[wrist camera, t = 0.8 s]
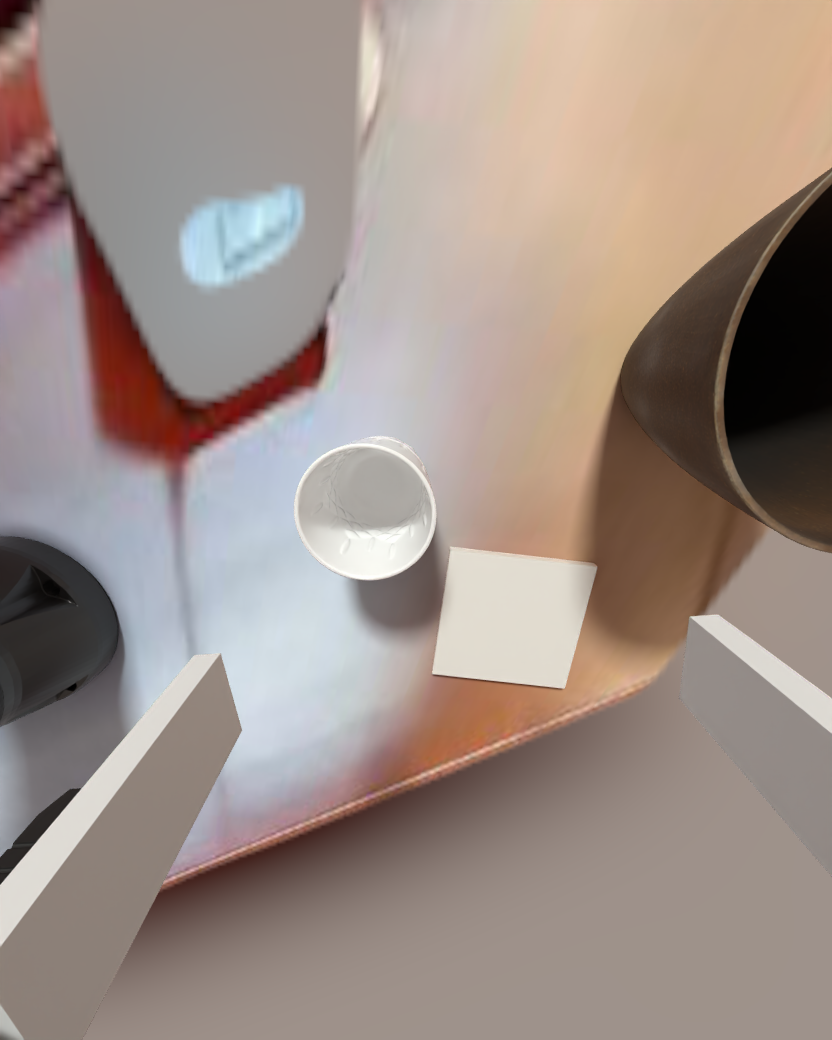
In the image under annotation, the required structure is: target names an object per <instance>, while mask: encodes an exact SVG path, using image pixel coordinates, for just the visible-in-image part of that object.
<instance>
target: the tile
mask: <svg viewBox="0 0 832 1040" xmlns="http://www.w3.org/2000/svg"><path fill="white" fill-rule="evenodd" d="M597 568H598V567H597V566H596V565H595V564H594V563H590V562H581V561H572V560H564V559H555V558H546V557H537V556H528V555H520V554H511V553H502V552H493V551H484V550H476V549H467V548H458V547H450V550H449V557H448V564H447V570H446V577H445V584H444V591H443V597H442V604H441V611H440V618H439V624H438V631H437V638H436V644H435V651H434V658H433V665H432V674H437V675H446V676H455V677H464V678H473V679H482V680H491V681H500V682H509V683H519V684H528V685H537V686H546V687H555V688H564V689H565V685H566V682H567V678H568V674H569V670H570V667H571V663H572V659H573V656H574V652H575V648H576V645H577V641H578V637H579V634H580V630H581V626H582V623H583V619H584V615H585V612H586V608H587V604H588V601H589V597H590V593H591V590H592V586H593V582H594V579H595V575H596V571H597Z"/></svg>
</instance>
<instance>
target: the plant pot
mask: <svg viewBox="0 0 832 1040" xmlns="http://www.w3.org/2000/svg"><path fill="white" fill-rule="evenodd" d="M621 388H622V393H623V397H624V399H625V401H626V404H627V406H628V408H629V409H630V411H631V413H632V414H633V416H634V418H635V419H636V421H637V422H638V423H639V425H640V426H641V427H642V429H643V430H644V431H645V432H646V433H647V435H648V436H649V437H650V438H651V439H652V440H653V441H654V442H655V443H656V444H657V445H658V446H659V447H660V448H661V449H662V451H663V452H665V453H666V454H667V455H668V456H669V457H670V458H671V459H672V460H673V461H675V462H676V463H677V464H678V465H679V466H680V467H682V468H683V469H684V470H685V471H687V472H688V473H689V474H690V475H692V476H693V477H694V478H696V479H697V480H698V481H699V482H701V483H702V484H704V485H705V486H706V487H708V488H709V489H711V490H712V491H713V492H715V493H716V494H718V495H719V496H721V497H722V498H724V499H725V500H727V501H728V502H730V503H731V504H733V505H734V506H736V507H738V508H739V509H741V510H742V511H744V512H745V513H747V514H748V515H750V516H752V517H753V518H755V519H757V520H758V521H760V522H762V523H763V524H765V525H767V526H768V527H770V528H772V529H773V530H775V531H777V532H778V533H780V534H782V535H783V536H785V537H786V538H788V539H791V540H793V541H795V542H797V543H799V544H802V545H804V546H806V547H810V548H813V549H816V550H820V551H824V552H828V553H832V168H831V169H829V170H828V171H827V172H825V173H824V174H823V175H821V176H820V177H818V178H817V179H816V180H814V181H813V182H811V183H810V184H809V185H807V186H806V187H804V188H803V189H802V190H800V191H799V192H798V193H796V194H795V195H793V196H792V197H791V198H789V199H788V200H786V201H785V202H784V203H782V204H781V205H780V206H778V207H777V208H776V209H774V210H773V211H772V212H770V213H769V214H768V215H766V216H765V217H763V218H762V219H761V220H759V221H758V222H757V223H756V224H754V225H753V226H752V227H750V228H749V229H748V230H746V231H745V232H744V233H743V234H741V235H740V236H739V237H738V238H736V239H735V240H734V241H733V242H731V243H730V244H729V245H728V246H727V247H725V248H724V249H723V250H722V251H720V252H719V253H718V254H717V255H716V256H715V257H713V258H712V259H711V260H710V261H709V262H707V263H706V264H705V265H704V266H703V267H702V268H701V269H700V270H699V271H697V272H696V273H695V274H694V275H693V276H692V277H691V278H690V279H689V280H688V281H687V282H686V283H685V284H684V285H683V286H682V287H681V288H679V289H678V290H677V291H676V292H675V293H674V294H673V295H672V296H671V297H670V298H669V299H668V300H667V302H666V303H665V304H664V305H663V306H662V307H661V308H660V309H659V310H658V311H657V312H656V314H655V315H654V316H653V317H652V318H651V319H650V321H649V322H648V323H647V324H646V326H645V327H644V328H643V330H642V331H641V332H640V334H639V335H638V337H637V338H636V339H635V341H634V342H633V344H632V346H631V347H630V349H629V351H628V353H627V355H626V357H625V360H624V363H623V367H622V372H621Z"/></svg>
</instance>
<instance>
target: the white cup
mask: <svg viewBox="0 0 832 1040" xmlns="http://www.w3.org/2000/svg"><path fill="white" fill-rule="evenodd" d="M294 518H295V523H296V527H297V531H298V533H299V536H300V538H301V540H302V542H303V544H304V545H305V547H306V548H307V550H308V551H309V552H310V554H311V555H312V556H313V557H314V558H315V559H316V560H317V561H318V562H319V563H321V564H322V565H323V566H325V567H326V568H328V569H329V570H331V571H333V572H335V573H337V574H339V575H341V576H344V577H347V578H351V579H356V580H380V579H385V578H389V577H392V576H395V575H397V574H399V573H401V572H403V571H405V570H406V569H408V568H409V567H411V566H412V565H413V564H414V563H416V562H417V561H418V560H419V559H420V557H421V556H422V555H423V554H424V552H425V551H426V549H427V548H428V546H429V544H430V542H431V540H432V537H433V534H434V531H435V526H436V504H435V499H434V495H433V492H432V488H431V484H430V480H429V477H428V474H427V471H426V469H425V467H424V464H423V463H422V461H421V459H420V458H419V457H418V455H417V454H416V452H415V451H414V449H413V448H412V447H410V446H409V445H407V444H405V443H404V442H402V441H401V440H399V439H397V438H395V437H385V436H373V437H367V438H363V439H359V440H356V441H353V442H351V443H348V444H346V445H343V446H341V447H338V448H336V449H333V450H331V451H329V452H327V453H325V454H324V455H322V456H321V457H320V458H318V459H317V460H316V461H315V462H314V463H313V464H312V465H311V466H310V467H309V468H308V469H307V471H306V472H305V474H304V475H303V477H302V479H301V480H300V483H299V485H298V488H297V491H296V495H295V500H294Z"/></svg>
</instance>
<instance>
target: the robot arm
mask: <svg viewBox="0 0 832 1040" xmlns="http://www.w3.org/2000/svg"><path fill="white" fill-rule="evenodd" d="M117 638H118V629H117V621H116V617H115V613H114V610H113V608H112V605H111V603H110V601H109V599H108V597H107V595H106V594H105V592H104V591H103V589H102V588H101V586H100V585H99V584H98V582H97V581H96V580H95V579H94V578H93V577H92V575H91V574H90V573H89V572H88V571H87V570H85V569H84V568H83V567H82V566H81V565H80V564H78V563H77V562H76V561H75V560H73V559H72V558H70V557H69V556H67V555H66V554H64V553H62V552H60V551H59V550H57V549H55V548H53V547H50V546H48V545H46V544H43V543H40V542H37V541H34V540H30V539H25V538H19V537H0V727H2V726H4V725H6V724H8V723H10V722H13V721H15V720H17V719H19V718H21V717H23V716H26V715H28V714H30V713H32V712H34V711H37V710H39V709H41V708H43V707H45V706H47V705H49V704H52V703H53V702H55V701H58V700H61V699H63V698H65V697H67V696H69V695H71V694H73V693H75V692H76V691H78V690H79V689H81V688H82V687H84V686H85V685H86V684H87V683H88V682H89V681H91V680H92V679H93V678H94V677H95V676H96V675H98V674H99V673H100V672H101V671H102V670H103V669H104V668H105V667H106V666H107V665H108V663H109V662H110V660H111V659H112V657H113V655H114V652H115V649H116V645H117ZM679 699H680V700H681V701H682V702H683V704H684V705H685V706H686V707H687V708H688V709H689V711H690V712H691V713H692V714H693V715H694V716H695V717H696V719H697V720H698V721H699V722H700V723H701V725H702V726H703V727H704V728H705V729H706V730H707V732H708V733H709V734H710V735H711V736H712V738H713V739H714V740H715V741H716V742H717V743H718V745H719V746H720V747H721V748H722V749H723V750H724V752H725V753H726V754H727V755H728V756H729V757H730V759H731V760H732V761H733V762H734V763H735V764H736V765H737V767H738V768H739V769H740V770H741V771H742V773H743V774H744V775H745V776H746V777H747V778H748V780H750V782H751V783H752V784H753V785H754V787H755V788H756V789H757V790H758V791H759V792H760V794H761V795H762V796H763V797H764V798H765V799H766V801H767V802H768V803H769V804H770V805H771V806H772V808H773V809H774V810H775V811H776V812H777V813H778V815H779V816H780V817H781V818H782V819H783V821H784V822H785V823H786V824H787V825H788V826H789V828H790V829H791V830H792V831H793V832H794V833H795V835H796V836H797V837H798V838H799V839H800V840H801V842H802V843H803V844H804V845H805V846H806V847H807V849H808V850H809V851H810V852H811V853H812V854H813V855H814V857H815V858H816V859H817V860H818V861H819V863H820V864H821V865H822V866H823V867H824V868H825V870H826V871H827V872H828V873H829V874H830V875H831V877H832V698H831V697H829V696H828V695H826V694H825V693H824V692H822V691H821V690H819V689H818V688H817V687H816V686H814V685H813V684H811V683H810V682H809V681H807V680H806V679H805V678H804V677H802V676H801V675H799V674H798V673H797V672H795V671H794V670H792V669H791V668H790V667H789V666H787V665H786V664H785V663H783V662H782V661H780V660H779V659H778V658H776V657H775V656H774V655H772V654H771V653H770V652H768V651H767V650H766V649H764V648H763V647H762V646H760V645H759V644H757V643H756V642H755V641H753V640H752V639H751V638H749V637H748V636H747V635H745V634H744V633H743V632H741V631H740V630H739V629H737V628H736V627H734V626H733V625H732V624H730V623H729V622H728V621H726V620H725V619H724V618H722V617H721V616H720V615H718V614H715V615H702V616H690V617H689V625H688V632H687V640H686V648H685V656H684V664H683V671H682V679H681V687H680V695H679ZM241 731H242V729H241V725H240V721H239V718H238V714H237V711H236V707H235V704H234V700H233V696H232V693H231V689H230V686H229V682H228V678H227V675H226V671H225V668H224V664H223V661H222V657H221V653H218V654H205V655H194V656H193V657H192V658H191V660H190V661H189V662H188V663H187V664H186V666H185V667H184V668H183V669H182V670H181V671H180V673H179V674H178V675H177V676H176V677H175V679H174V680H173V681H172V682H171V683H170V684H169V686H168V687H167V688H166V689H165V690H164V692H163V693H162V694H161V695H160V696H159V698H158V699H157V700H156V701H155V702H154V703H153V705H152V706H151V707H150V708H149V709H148V711H147V712H146V713H145V714H144V715H143V716H142V718H141V719H140V720H139V721H138V722H137V724H136V725H135V726H134V727H133V728H132V730H131V731H130V732H129V733H128V734H127V735H126V737H125V738H124V739H123V740H122V741H121V743H120V744H119V745H118V746H117V747H116V748H115V750H114V751H113V752H112V753H111V754H110V756H109V757H108V758H107V759H106V760H105V761H104V763H103V764H102V765H101V766H100V767H99V769H98V770H97V771H96V772H95V773H94V775H93V776H92V777H91V778H90V779H89V780H88V782H87V783H86V784H85V785H84V786H83V788H79V789H70V790H69V791H67V792H66V793H65V794H64V795H62V796H61V797H60V798H59V799H57V800H56V801H55V802H54V803H52V804H51V805H50V806H49V807H47V808H46V809H45V810H44V811H42V812H41V813H40V814H39V815H38V816H37V817H36V818H35V819H34V820H33V821H32V823H31V824H30V825H29V826H28V827H27V828H26V829H25V830H24V831H23V833H22V834H21V835H20V836H19V837H18V838H17V839H16V840H15V842H14V843H13V846H12V848H11V849H7V850H6V852H5V853H4V854H3V855H2V856H1V857H0V1040H82V1039H83V1037H84V1035H85V1033H86V1031H87V1029H88V1027H89V1026H90V1024H91V1022H92V1020H93V1018H94V1016H95V1014H96V1012H97V1010H98V1008H99V1006H100V1004H101V1002H102V1000H103V998H104V996H105V995H106V993H107V991H108V989H109V987H110V985H111V982H112V981H113V979H114V977H115V975H116V973H117V971H118V969H119V967H120V965H121V963H122V962H123V960H124V958H125V956H126V954H127V952H128V950H129V948H130V946H131V944H132V942H133V940H134V938H135V936H136V934H137V933H138V930H139V929H140V927H141V925H142V923H143V921H144V919H145V917H146V915H147V913H148V911H149V909H150V907H151V905H152V903H153V901H154V900H155V898H156V896H157V894H158V892H159V890H160V888H161V886H162V884H163V882H164V880H165V878H166V876H167V874H168V872H169V871H170V869H171V867H172V865H173V863H174V861H175V859H176V857H177V855H178V853H179V851H180V849H181V847H182V845H183V843H184V841H185V840H186V838H187V836H188V834H189V832H190V830H191V828H192V826H193V824H194V822H195V820H196V818H197V816H198V814H199V812H200V810H201V809H202V807H203V805H204V803H205V801H206V799H207V797H208V795H209V793H210V791H211V789H212V787H213V785H214V783H215V781H216V779H217V778H218V776H219V774H220V772H221V770H222V768H223V766H224V764H225V762H226V760H227V758H228V756H229V754H230V752H231V750H232V748H233V747H234V745H235V743H236V741H237V739H238V737H239V735H240V733H241Z"/></svg>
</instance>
